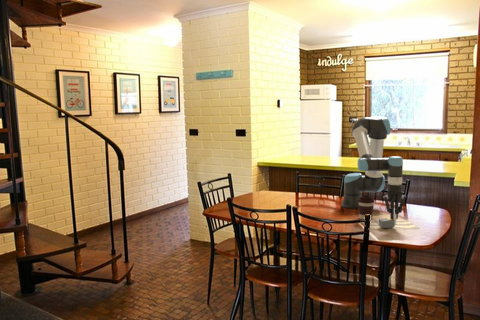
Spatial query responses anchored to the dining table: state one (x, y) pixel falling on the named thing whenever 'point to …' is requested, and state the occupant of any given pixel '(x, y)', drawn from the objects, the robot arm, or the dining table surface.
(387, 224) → the block
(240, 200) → the dining table surface
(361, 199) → the coffee cup
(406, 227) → the subfloor panel
